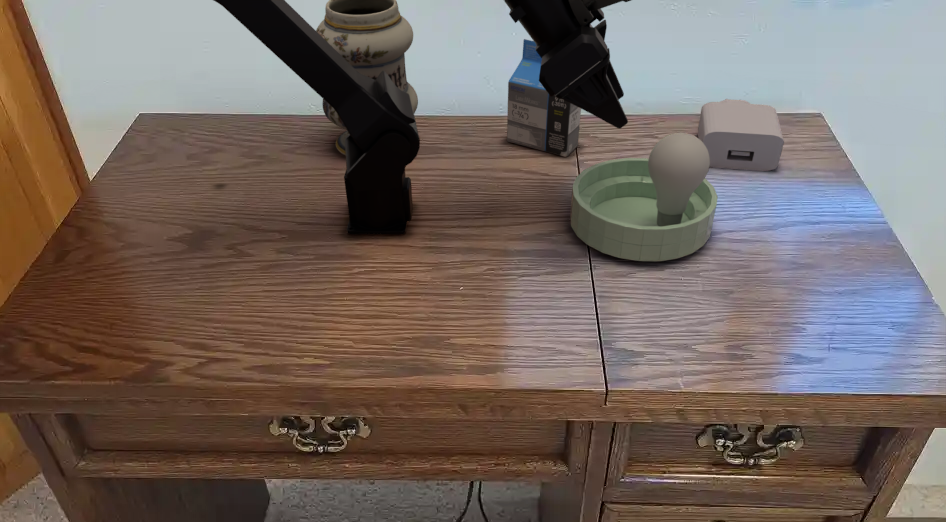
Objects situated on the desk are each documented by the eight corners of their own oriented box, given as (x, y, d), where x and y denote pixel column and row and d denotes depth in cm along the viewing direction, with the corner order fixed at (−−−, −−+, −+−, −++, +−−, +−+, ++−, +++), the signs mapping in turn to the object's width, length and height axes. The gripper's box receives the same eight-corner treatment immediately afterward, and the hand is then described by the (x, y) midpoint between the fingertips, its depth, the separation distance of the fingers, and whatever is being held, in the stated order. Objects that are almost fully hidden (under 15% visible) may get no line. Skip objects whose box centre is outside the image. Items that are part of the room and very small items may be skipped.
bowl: (574, 265, 83) (577, 228, 80) (566, 192, 94) (568, 157, 91) (722, 267, 82) (731, 229, 79) (695, 192, 94) (702, 158, 91)
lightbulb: (632, 238, 85) (646, 143, 78) (645, 210, 90) (659, 118, 83) (690, 249, 83) (709, 154, 76) (700, 221, 88) (719, 127, 81)
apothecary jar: (350, 174, 98) (332, 25, 87) (314, 136, 106) (293, -4, 95) (436, 150, 103) (430, 6, 91) (395, 116, 111) (385, -20, 99)
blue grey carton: (505, 142, 104) (506, 48, 96) (519, 131, 107) (522, 38, 99) (566, 158, 101) (573, 61, 93) (579, 146, 103) (587, 51, 95)
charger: (764, 119, 109) (776, 172, 97) (695, 115, 110) (698, 166, 99) (772, 86, 106) (785, 136, 94) (701, 82, 107) (705, 130, 96)
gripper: (601, -69, 64) (704, 87, 69) (597, -90, 79) (682, 38, 85) (493, 22, 68) (598, 161, 74) (509, -15, 84) (595, 102, 90)
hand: (621, 111), depth 80 cm, fingers open, 9 cm apart
